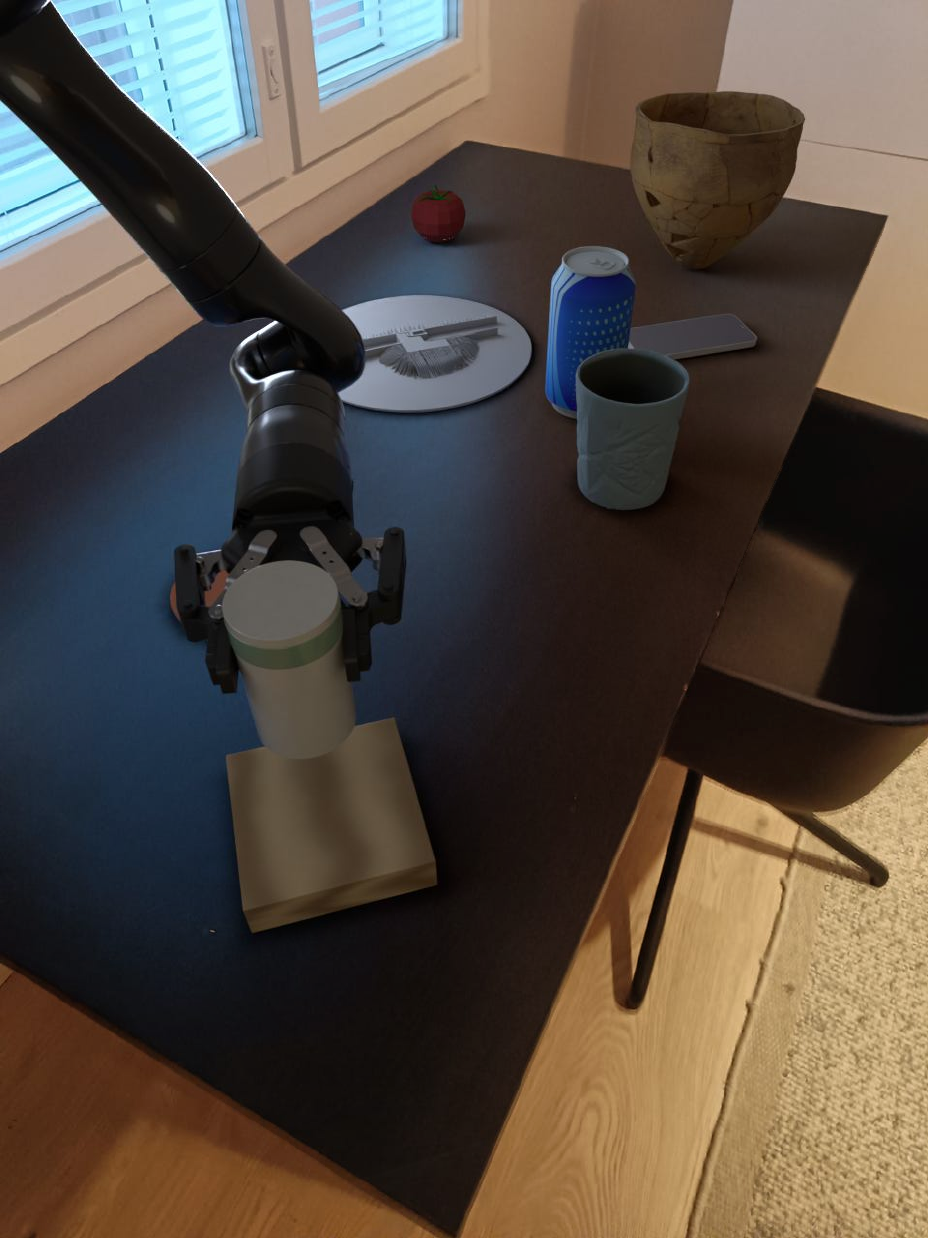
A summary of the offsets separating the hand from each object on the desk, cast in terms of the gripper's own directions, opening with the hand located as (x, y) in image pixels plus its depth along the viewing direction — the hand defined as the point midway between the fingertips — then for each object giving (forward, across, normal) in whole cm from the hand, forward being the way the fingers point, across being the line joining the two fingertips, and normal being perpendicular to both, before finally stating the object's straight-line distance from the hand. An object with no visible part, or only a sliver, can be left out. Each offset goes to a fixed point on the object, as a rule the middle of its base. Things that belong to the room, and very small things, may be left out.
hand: (290, 676), depth 47 cm
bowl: (-85, +51, +18) cm, 100 cm away
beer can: (-53, +28, +18) cm, 63 cm away
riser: (-2, 0, +18) cm, 18 cm away
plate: (-67, +11, +18) cm, 70 cm away
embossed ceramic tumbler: (-38, +29, +18) cm, 51 cm away
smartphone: (-64, +44, +18) cm, 80 cm away
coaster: (-27, -8, +18) cm, 33 cm away
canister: (-2, 0, +6) cm, 7 cm away
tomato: (-100, +17, +18) cm, 103 cm away
